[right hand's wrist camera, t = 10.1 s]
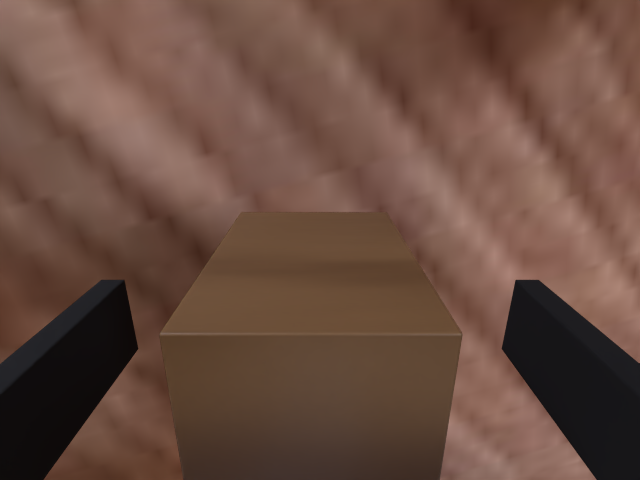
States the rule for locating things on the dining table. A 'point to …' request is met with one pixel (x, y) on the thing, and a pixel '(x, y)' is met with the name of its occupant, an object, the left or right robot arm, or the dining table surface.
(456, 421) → the dining table surface
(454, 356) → the bar
